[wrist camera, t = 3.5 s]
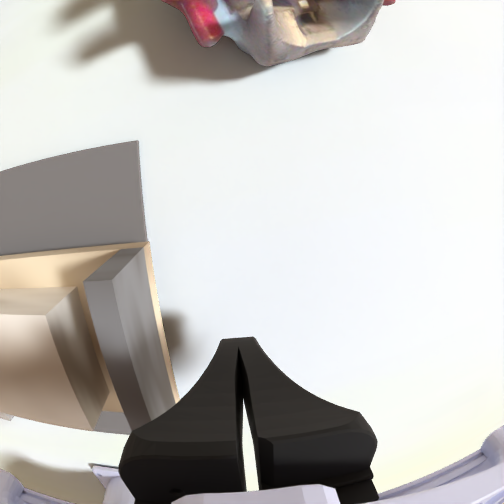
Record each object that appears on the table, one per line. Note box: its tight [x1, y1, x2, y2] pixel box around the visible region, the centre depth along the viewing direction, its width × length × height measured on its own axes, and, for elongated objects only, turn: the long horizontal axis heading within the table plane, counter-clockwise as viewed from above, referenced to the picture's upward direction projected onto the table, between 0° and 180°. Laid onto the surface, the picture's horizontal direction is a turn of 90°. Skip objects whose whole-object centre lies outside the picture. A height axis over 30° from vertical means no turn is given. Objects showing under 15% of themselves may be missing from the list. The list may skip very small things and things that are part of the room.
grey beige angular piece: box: [0, 241, 180, 431], centre depth 12 cm, size 9×12×6 cm
